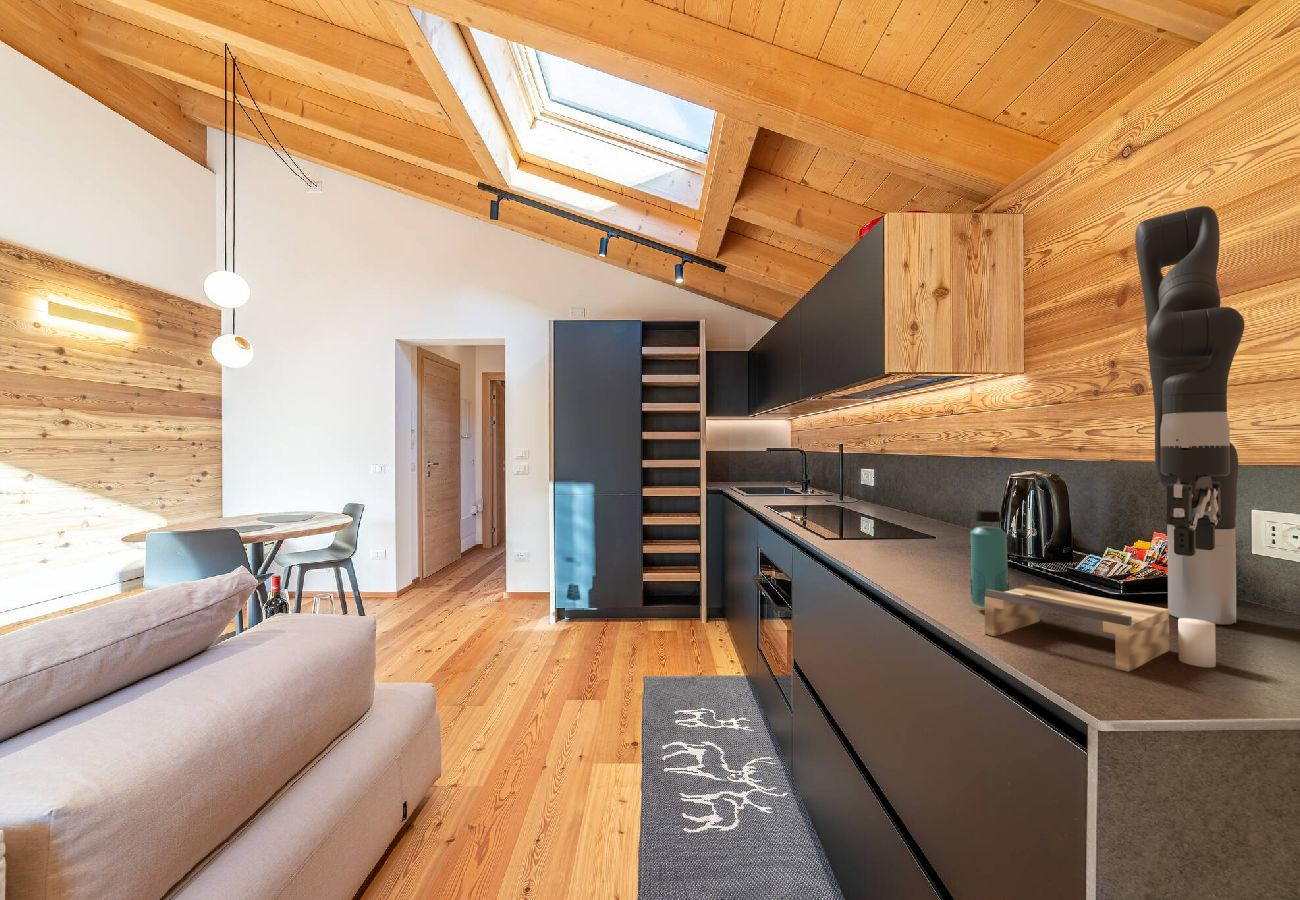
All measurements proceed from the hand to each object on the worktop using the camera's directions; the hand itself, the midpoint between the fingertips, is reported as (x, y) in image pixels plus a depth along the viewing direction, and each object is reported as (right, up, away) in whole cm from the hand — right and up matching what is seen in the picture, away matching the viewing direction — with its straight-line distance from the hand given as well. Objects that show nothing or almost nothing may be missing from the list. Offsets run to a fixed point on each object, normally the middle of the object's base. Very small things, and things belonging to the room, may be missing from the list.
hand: (1194, 552), depth 85 cm
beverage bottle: (-15, -17, +27) cm, 35 cm away
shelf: (-11, -17, +9) cm, 22 cm away
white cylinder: (0, -16, 0) cm, 16 cm away
